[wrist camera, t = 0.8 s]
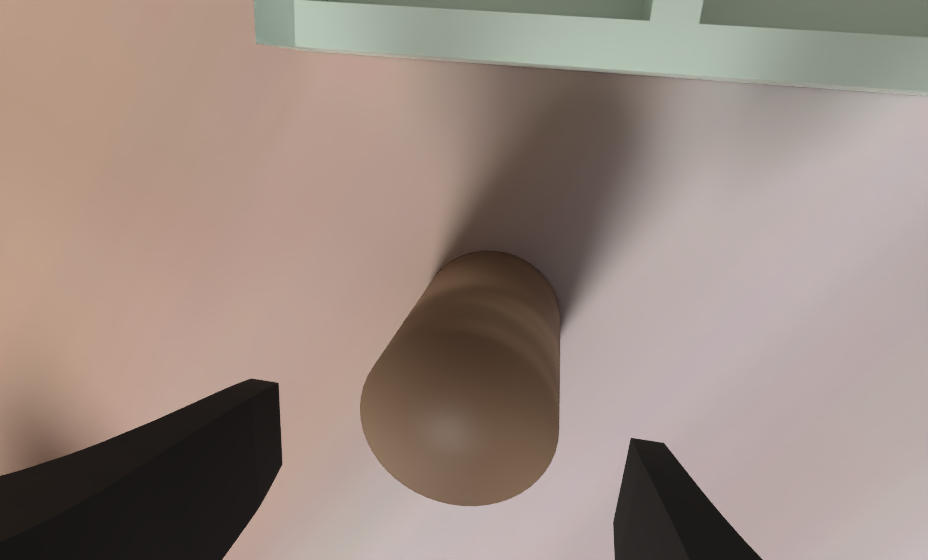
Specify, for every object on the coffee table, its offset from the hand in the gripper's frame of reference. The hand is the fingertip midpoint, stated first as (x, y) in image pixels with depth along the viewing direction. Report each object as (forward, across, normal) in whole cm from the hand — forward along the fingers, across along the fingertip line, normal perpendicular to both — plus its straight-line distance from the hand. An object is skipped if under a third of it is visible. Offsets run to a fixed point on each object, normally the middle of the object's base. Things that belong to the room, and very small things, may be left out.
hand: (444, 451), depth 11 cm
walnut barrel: (+7, 0, 0) cm, 7 cm away
